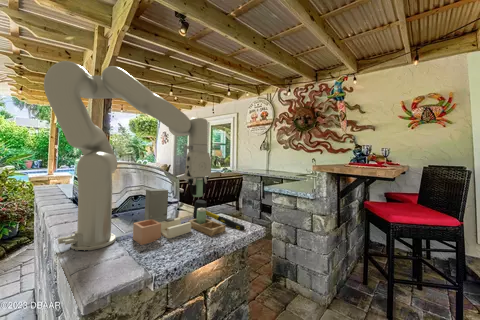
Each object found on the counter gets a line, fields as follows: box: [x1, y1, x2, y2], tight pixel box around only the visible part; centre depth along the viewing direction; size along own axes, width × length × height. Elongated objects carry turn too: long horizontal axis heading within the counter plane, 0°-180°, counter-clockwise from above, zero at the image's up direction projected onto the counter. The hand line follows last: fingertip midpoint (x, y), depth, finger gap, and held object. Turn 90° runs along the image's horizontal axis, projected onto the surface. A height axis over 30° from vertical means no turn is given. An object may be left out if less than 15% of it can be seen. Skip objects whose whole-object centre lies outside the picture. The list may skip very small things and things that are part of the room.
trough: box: [187, 218, 227, 237], centre depth 87 cm, size 8×15×3 cm, turn 50°
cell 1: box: [192, 177, 204, 198], centre depth 83 cm, size 4×4×8 cm
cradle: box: [159, 217, 192, 239], centre depth 81 cm, size 10×9×5 cm
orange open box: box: [132, 219, 162, 246], centre depth 75 cm, size 7×7×6 cm
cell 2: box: [196, 208, 207, 224], centre depth 89 cm, size 4×4×8 cm
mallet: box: [192, 199, 246, 231], centre depth 94 cm, size 29×6×10 cm, turn 57°
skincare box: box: [143, 188, 169, 222], centre depth 91 cm, size 8×7×16 cm
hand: (197, 193), depth 83 cm, fingers closed on cell 1, 4 cm apart
